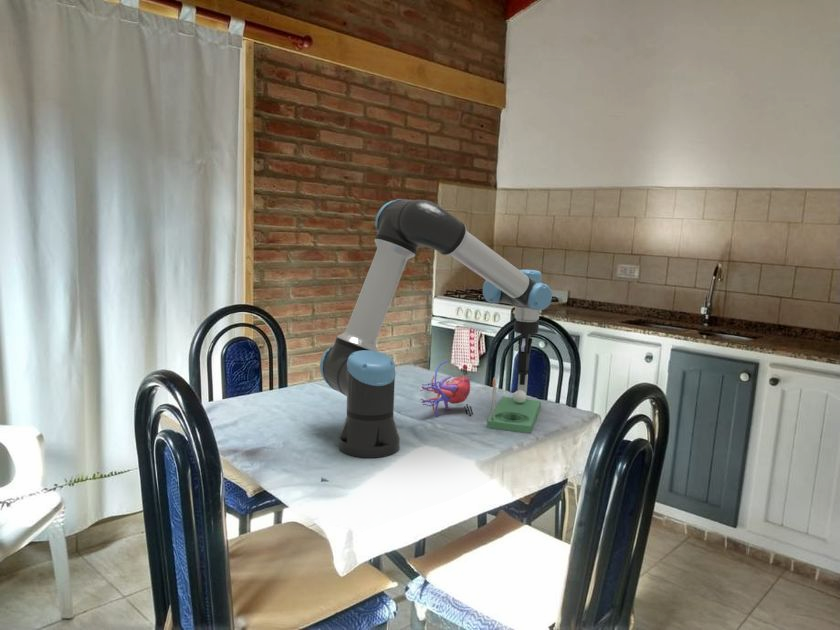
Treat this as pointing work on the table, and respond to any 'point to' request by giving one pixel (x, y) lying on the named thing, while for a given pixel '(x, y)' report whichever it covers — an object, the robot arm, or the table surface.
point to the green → (513, 414)
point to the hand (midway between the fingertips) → (522, 393)
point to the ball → (519, 396)
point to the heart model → (449, 391)
